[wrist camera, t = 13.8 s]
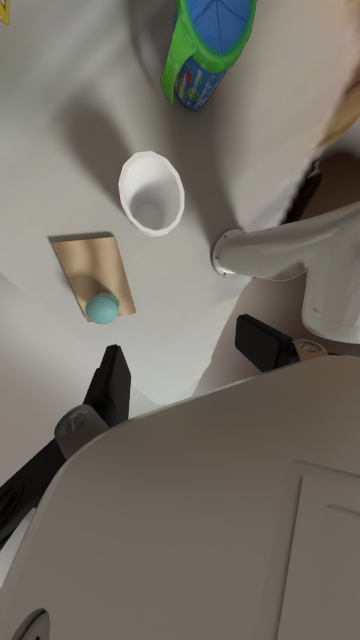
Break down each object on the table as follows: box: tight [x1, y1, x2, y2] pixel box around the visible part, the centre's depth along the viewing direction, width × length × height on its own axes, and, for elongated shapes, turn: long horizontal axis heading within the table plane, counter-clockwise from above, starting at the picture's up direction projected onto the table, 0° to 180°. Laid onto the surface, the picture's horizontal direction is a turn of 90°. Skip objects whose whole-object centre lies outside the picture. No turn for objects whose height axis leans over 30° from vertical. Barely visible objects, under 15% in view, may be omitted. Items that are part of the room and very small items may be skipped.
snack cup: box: [161, 0, 257, 111], centre depth 21 cm, size 16×10×10 cm
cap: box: [85, 292, 120, 324], centre depth 32 cm, size 6×6×5 cm
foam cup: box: [118, 151, 184, 237], centre depth 26 cm, size 10×9×13 cm
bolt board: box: [52, 237, 136, 322], centre depth 32 cm, size 12×18×6 cm, turn 6°
